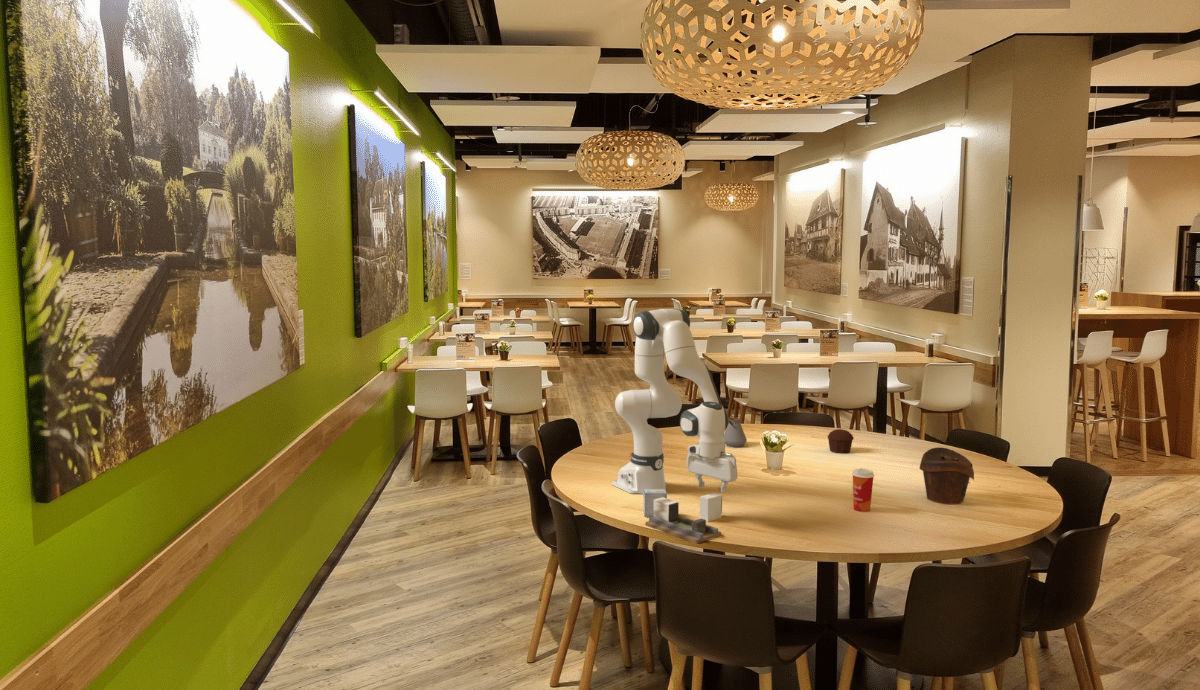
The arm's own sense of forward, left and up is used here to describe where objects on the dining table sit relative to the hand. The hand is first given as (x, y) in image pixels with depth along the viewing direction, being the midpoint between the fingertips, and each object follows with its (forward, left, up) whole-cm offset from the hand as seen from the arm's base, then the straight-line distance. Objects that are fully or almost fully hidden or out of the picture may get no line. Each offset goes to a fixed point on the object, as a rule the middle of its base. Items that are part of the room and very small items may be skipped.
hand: (711, 489), depth 278 cm
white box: (-1, 0, -10) cm, 10 cm away
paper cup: (+28, +48, -11) cm, 57 cm away
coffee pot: (-62, +85, -11) cm, 106 cm away
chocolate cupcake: (+42, +82, -11) cm, 93 cm away
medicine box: (-16, -12, -11) cm, 22 cm away
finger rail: (+1, -16, -10) cm, 19 cm away
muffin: (-25, +117, -11) cm, 120 cm away
